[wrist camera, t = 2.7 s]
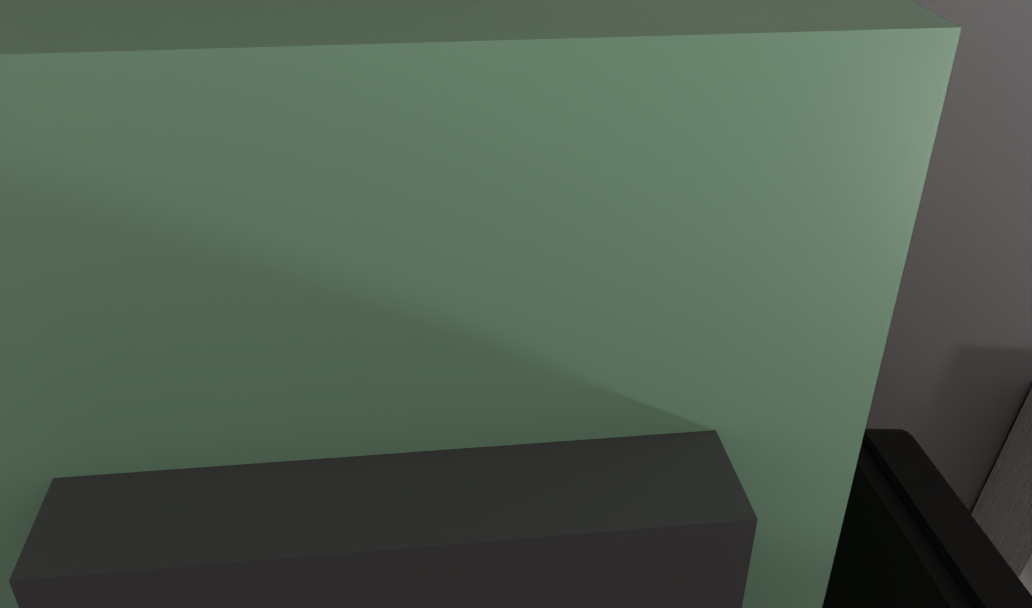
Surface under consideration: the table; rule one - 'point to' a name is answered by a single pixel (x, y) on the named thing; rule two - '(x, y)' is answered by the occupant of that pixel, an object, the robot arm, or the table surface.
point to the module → (447, 296)
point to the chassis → (1011, 499)
